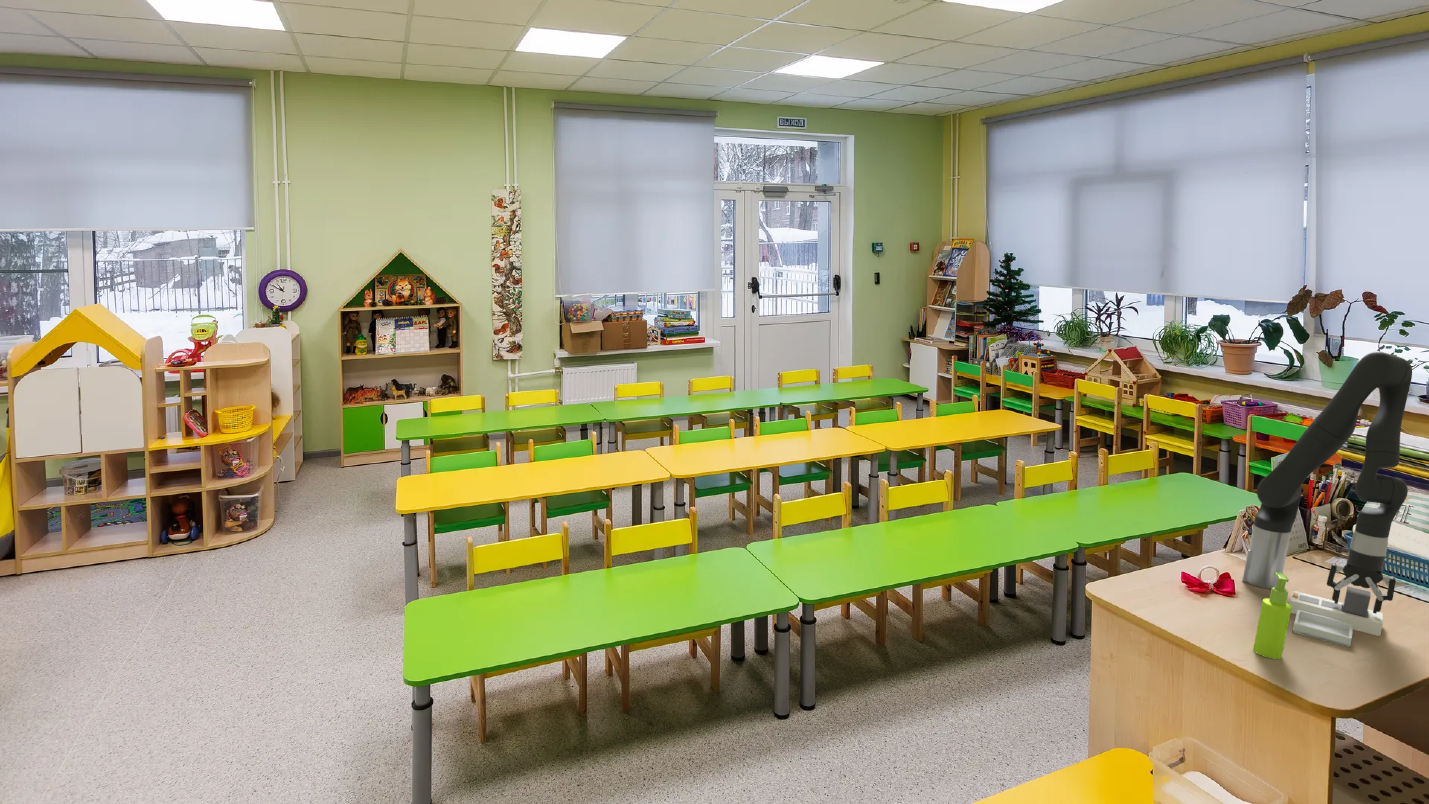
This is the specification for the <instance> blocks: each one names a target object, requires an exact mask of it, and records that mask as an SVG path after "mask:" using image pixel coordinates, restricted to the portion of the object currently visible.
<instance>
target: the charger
mask: <svg viewBox="0 0 1429 804" xmlns="http://www.w3.org/2000/svg"><path fill="white" fill-rule="evenodd" d="M1370 601H1371V591H1370V590H1364V589H1361V588H1356V587H1351V586H1349V585H1347V586H1346V591H1345V596H1344V600H1343V603H1344V604H1343V609H1342V612H1345V613H1349V614H1353V615H1357V616H1361V617H1365V618H1366V615H1367V610H1368V609H1369V605H1370Z"/></svg>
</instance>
